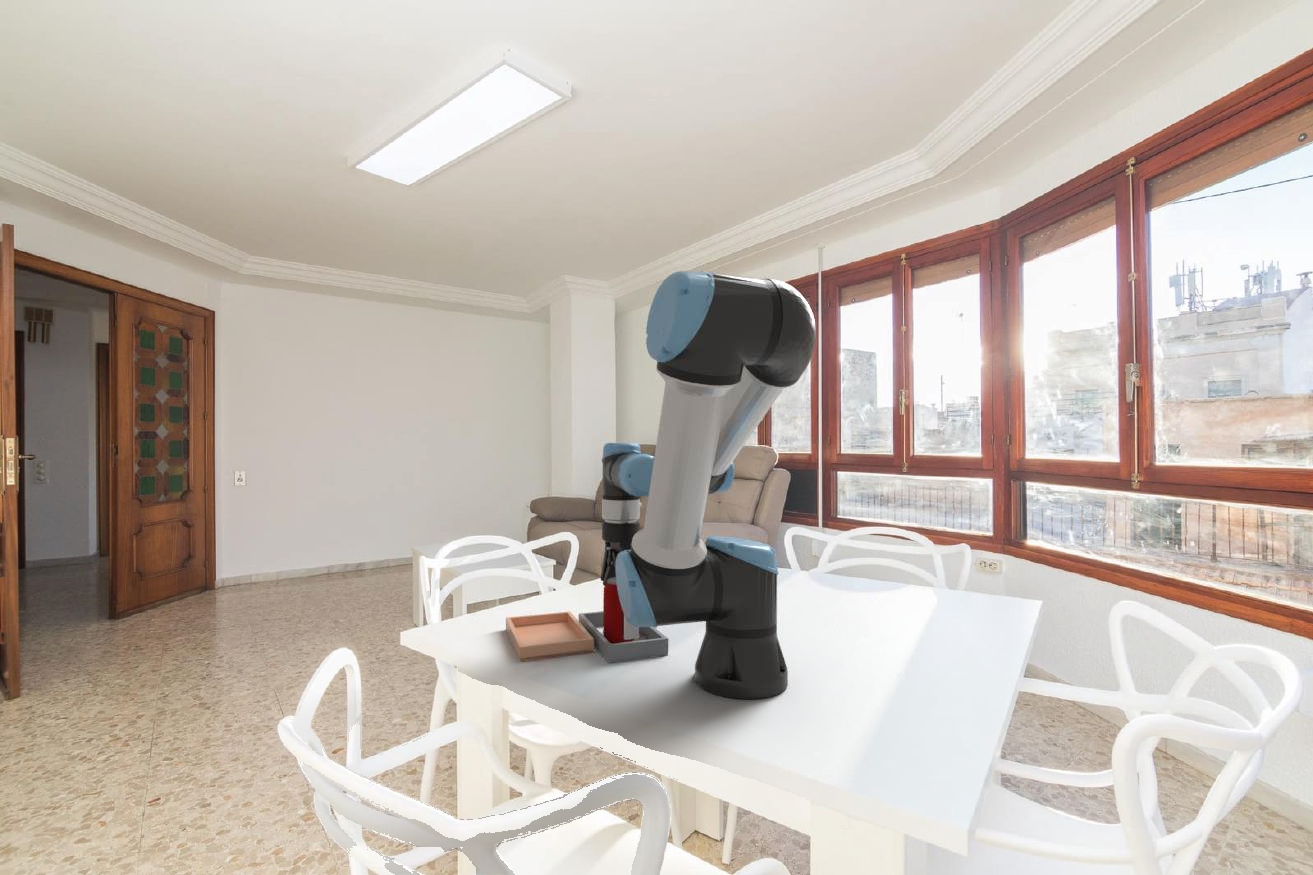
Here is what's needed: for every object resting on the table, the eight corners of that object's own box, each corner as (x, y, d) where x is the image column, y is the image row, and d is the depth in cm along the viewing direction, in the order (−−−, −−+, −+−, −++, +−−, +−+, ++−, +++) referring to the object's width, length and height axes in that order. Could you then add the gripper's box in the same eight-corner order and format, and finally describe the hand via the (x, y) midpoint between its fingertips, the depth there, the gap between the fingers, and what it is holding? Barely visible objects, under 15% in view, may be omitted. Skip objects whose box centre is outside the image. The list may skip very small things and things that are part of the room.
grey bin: (668, 655, 111) (668, 638, 111) (607, 662, 107) (607, 645, 107) (630, 622, 131) (630, 608, 131) (578, 627, 127) (578, 613, 127)
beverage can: (636, 646, 115) (636, 583, 115) (601, 646, 116) (601, 583, 116) (638, 635, 122) (638, 576, 122) (605, 635, 122) (605, 575, 122)
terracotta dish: (593, 652, 112) (593, 639, 112) (519, 661, 107) (519, 647, 107) (570, 622, 130) (570, 611, 130) (505, 629, 125) (505, 617, 125)
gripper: (662, 528, 109) (661, 645, 109) (620, 512, 132) (619, 609, 132) (622, 530, 106) (621, 650, 106) (586, 513, 129) (585, 612, 129)
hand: (620, 628), depth 119 cm, fingers open, 13 cm apart
